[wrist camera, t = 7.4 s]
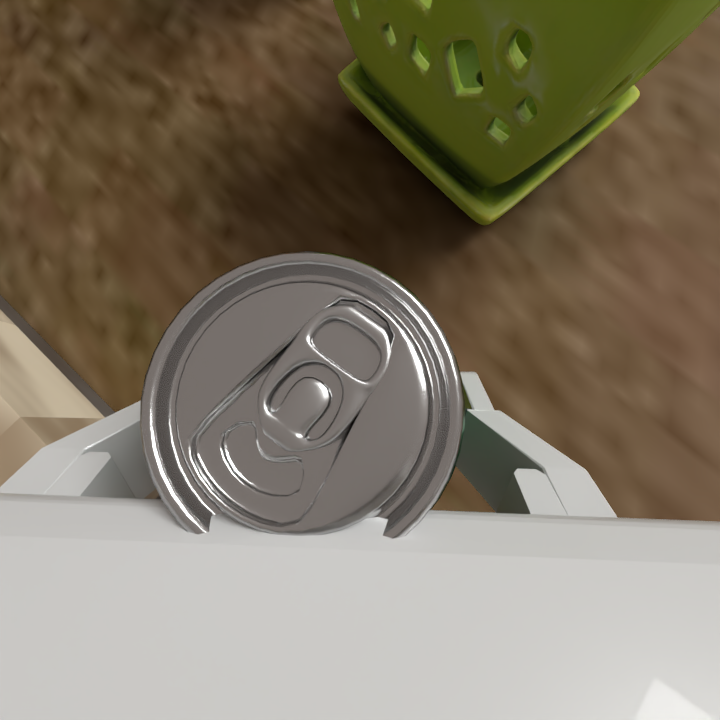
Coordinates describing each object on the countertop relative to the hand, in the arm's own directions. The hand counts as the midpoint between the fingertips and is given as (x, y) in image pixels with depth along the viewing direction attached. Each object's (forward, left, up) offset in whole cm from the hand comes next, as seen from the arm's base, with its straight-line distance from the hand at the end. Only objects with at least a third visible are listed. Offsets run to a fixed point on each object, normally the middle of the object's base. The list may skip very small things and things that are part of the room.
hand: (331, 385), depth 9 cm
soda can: (0, 0, -7) cm, 7 cm away
